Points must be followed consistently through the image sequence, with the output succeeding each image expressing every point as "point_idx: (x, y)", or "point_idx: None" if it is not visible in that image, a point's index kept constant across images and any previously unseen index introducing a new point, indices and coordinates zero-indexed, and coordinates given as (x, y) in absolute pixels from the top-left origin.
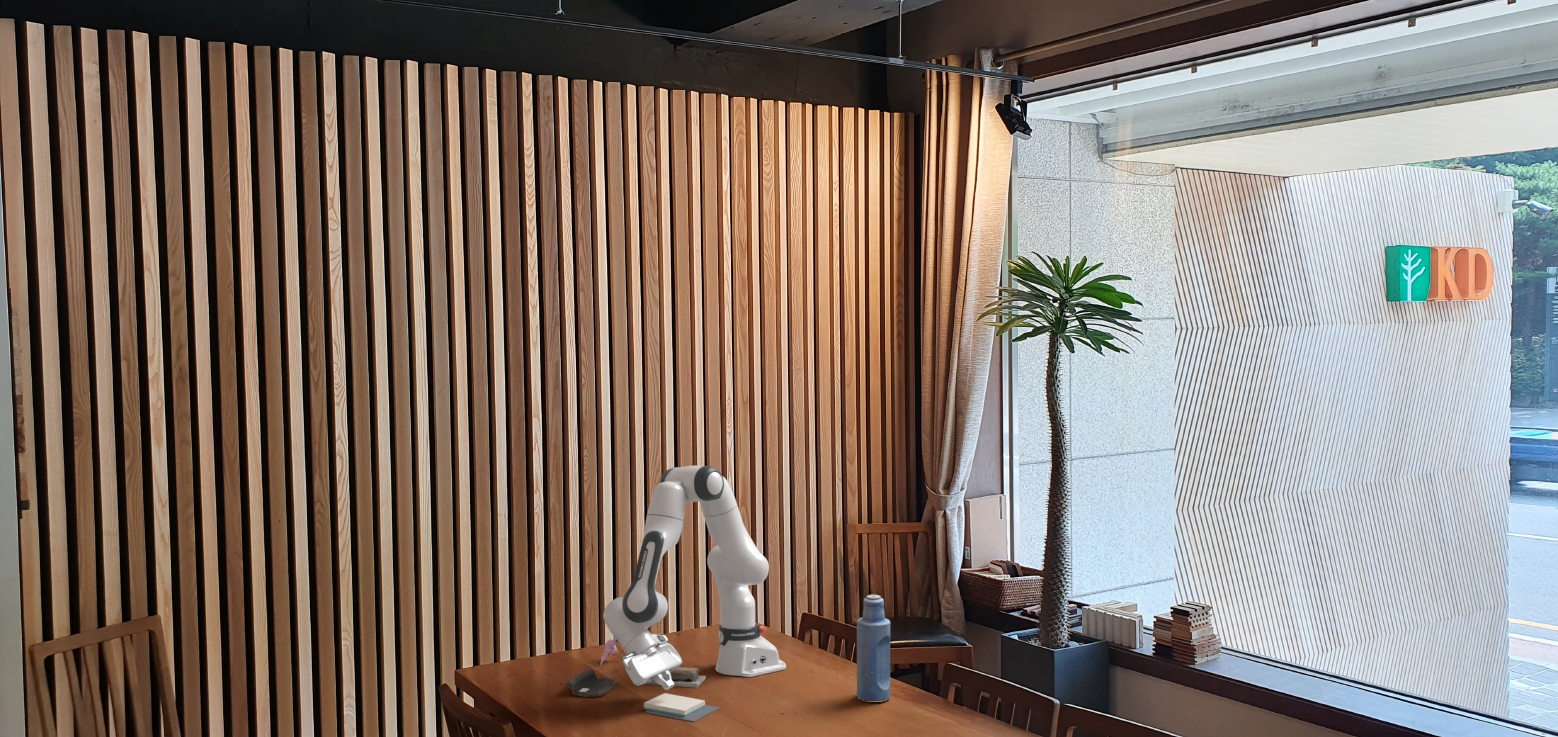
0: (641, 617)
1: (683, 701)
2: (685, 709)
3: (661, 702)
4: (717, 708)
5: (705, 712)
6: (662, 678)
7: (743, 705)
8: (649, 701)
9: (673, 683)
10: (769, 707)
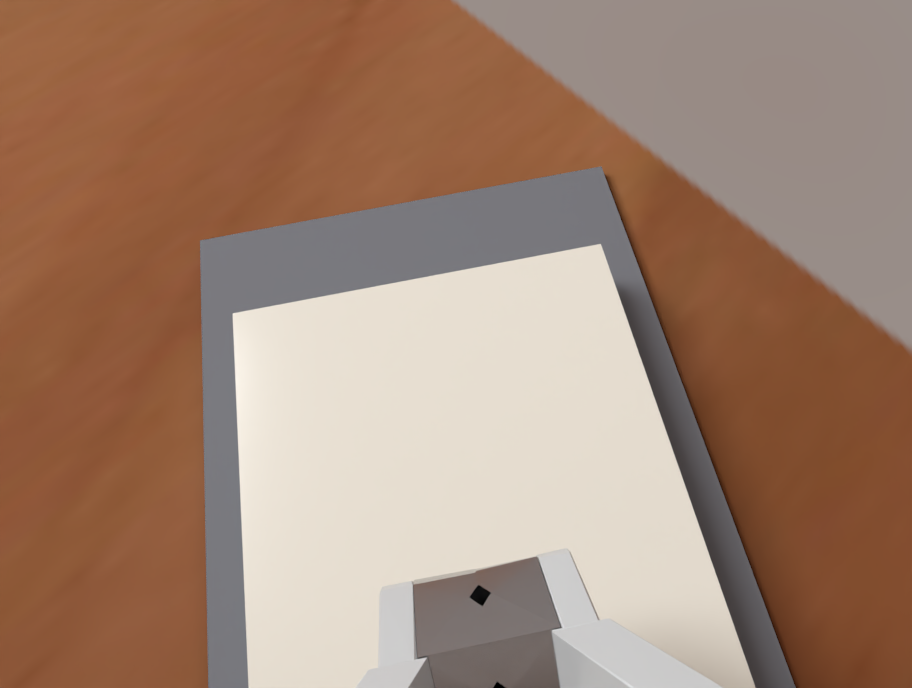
0: None
1: (394, 465)
2: (573, 263)
3: None
4: (232, 238)
5: (378, 240)
6: (661, 685)
7: (42, 171)
8: None
9: (400, 589)
10: (6, 37)
